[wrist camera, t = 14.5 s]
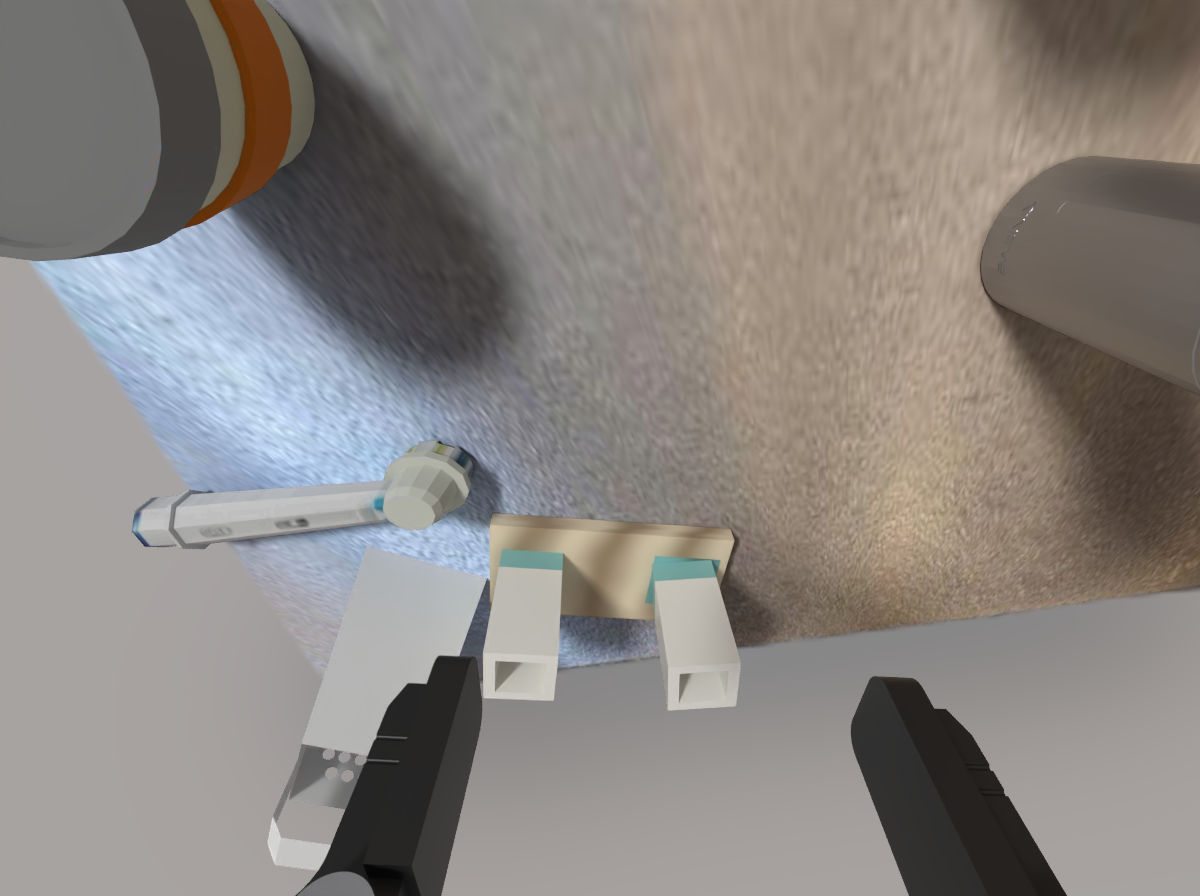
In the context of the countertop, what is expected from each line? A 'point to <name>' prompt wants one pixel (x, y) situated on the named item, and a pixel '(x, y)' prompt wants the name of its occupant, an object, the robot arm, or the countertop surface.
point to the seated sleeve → (524, 627)
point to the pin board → (607, 558)
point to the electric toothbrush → (313, 503)
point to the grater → (373, 675)
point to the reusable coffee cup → (140, 118)
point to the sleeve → (694, 636)
